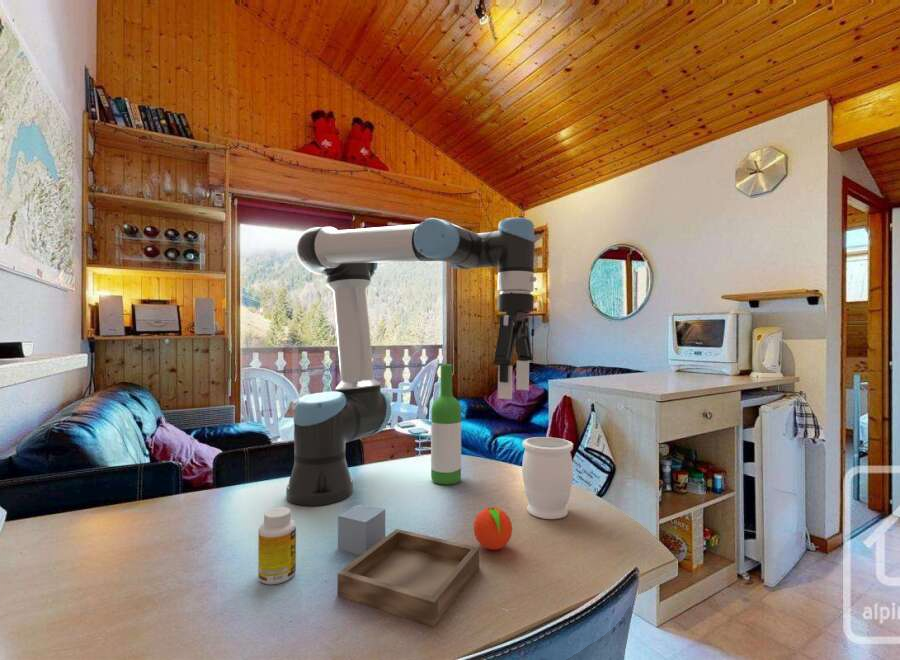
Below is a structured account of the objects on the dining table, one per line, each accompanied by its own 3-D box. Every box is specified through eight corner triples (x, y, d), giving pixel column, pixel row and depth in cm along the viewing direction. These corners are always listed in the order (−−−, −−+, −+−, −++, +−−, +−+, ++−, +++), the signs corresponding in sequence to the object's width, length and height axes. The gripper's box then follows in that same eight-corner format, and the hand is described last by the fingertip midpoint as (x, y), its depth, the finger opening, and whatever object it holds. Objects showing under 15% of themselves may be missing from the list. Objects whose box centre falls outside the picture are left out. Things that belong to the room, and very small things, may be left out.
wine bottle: (467, 480, 114) (467, 364, 114) (447, 488, 109) (447, 366, 108) (444, 473, 120) (445, 362, 119) (424, 481, 114) (424, 364, 114)
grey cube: (338, 549, 79) (338, 515, 79) (358, 535, 84) (358, 503, 84) (365, 557, 76) (365, 522, 76) (385, 541, 82) (385, 509, 82)
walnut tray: (337, 595, 65) (337, 573, 65) (396, 547, 79) (396, 528, 79) (434, 627, 58) (434, 602, 58) (479, 568, 73) (479, 547, 73)
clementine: (519, 558, 76) (519, 517, 75) (479, 562, 74) (479, 520, 74) (505, 537, 83) (505, 499, 83) (469, 539, 82) (469, 501, 82)
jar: (568, 503, 99) (568, 436, 99) (577, 523, 89) (577, 449, 89) (520, 501, 100) (520, 435, 100) (523, 521, 90) (524, 447, 90)
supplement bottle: (296, 582, 68) (296, 516, 68) (257, 589, 67) (257, 521, 66) (295, 564, 74) (295, 502, 74) (259, 570, 72) (259, 507, 72)
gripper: (517, 288, 80) (515, 404, 81) (545, 296, 103) (544, 387, 103) (478, 289, 83) (476, 401, 84) (514, 297, 106) (513, 385, 106)
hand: (514, 394), depth 94 cm, fingers open, 13 cm apart
